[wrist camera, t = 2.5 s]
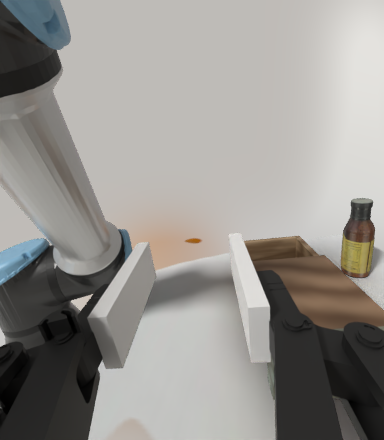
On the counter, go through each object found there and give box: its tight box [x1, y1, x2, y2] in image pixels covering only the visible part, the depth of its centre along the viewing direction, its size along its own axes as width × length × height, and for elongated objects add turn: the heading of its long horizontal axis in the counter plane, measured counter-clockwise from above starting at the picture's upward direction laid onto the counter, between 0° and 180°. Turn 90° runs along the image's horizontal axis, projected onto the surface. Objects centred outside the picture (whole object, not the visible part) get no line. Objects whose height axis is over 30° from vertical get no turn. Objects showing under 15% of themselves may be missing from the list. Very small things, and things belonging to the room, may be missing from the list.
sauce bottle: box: [341, 198, 375, 278], centre depth 53 cm, size 7×6×20 cm
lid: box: [252, 255, 384, 400], centre depth 35 cm, size 25×18×8 cm
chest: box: [244, 236, 319, 261], centre depth 51 cm, size 22×18×10 cm
